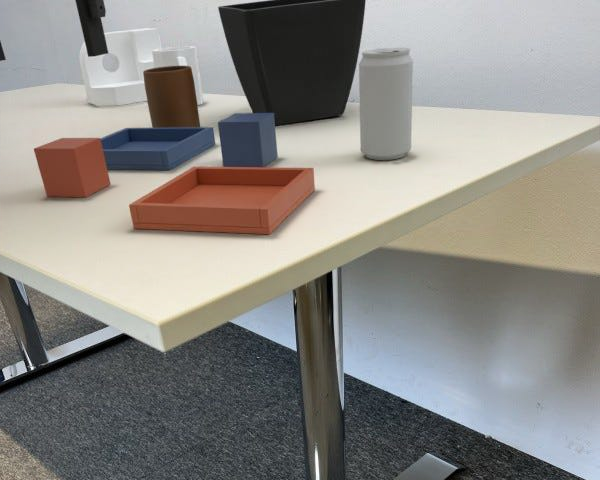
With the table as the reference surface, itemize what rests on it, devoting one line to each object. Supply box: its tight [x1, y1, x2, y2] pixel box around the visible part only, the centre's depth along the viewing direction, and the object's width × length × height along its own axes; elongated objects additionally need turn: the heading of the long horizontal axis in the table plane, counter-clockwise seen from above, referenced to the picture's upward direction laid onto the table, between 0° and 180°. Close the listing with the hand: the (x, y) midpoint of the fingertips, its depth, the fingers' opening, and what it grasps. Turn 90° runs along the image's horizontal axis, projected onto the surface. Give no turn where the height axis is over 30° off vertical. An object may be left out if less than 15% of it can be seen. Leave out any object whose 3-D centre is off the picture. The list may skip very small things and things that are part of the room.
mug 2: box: [152, 45, 204, 106], centre depth 125 cm, size 12×9×10 cm
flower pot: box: [217, 0, 367, 126], centre depth 106 cm, size 19×19×17 cm
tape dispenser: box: [78, 27, 163, 107], centre depth 136 cm, size 16×10×13 cm, turn 120°
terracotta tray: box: [128, 166, 316, 235], centre depth 68 cm, size 15×15×2 cm
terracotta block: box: [33, 137, 111, 198], centre depth 78 cm, size 6×6×6 cm
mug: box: [143, 66, 201, 128], centre depth 104 cm, size 12×8×9 cm, turn 23°
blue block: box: [217, 112, 279, 167], centre depth 84 cm, size 6×6×6 cm
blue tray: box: [99, 126, 216, 171], centre depth 92 cm, size 15×15×2 cm
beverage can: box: [358, 47, 414, 161], centre depth 80 cm, size 6×6×12 cm
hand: (45, 58), depth 71 cm, fingers open, 13 cm apart
